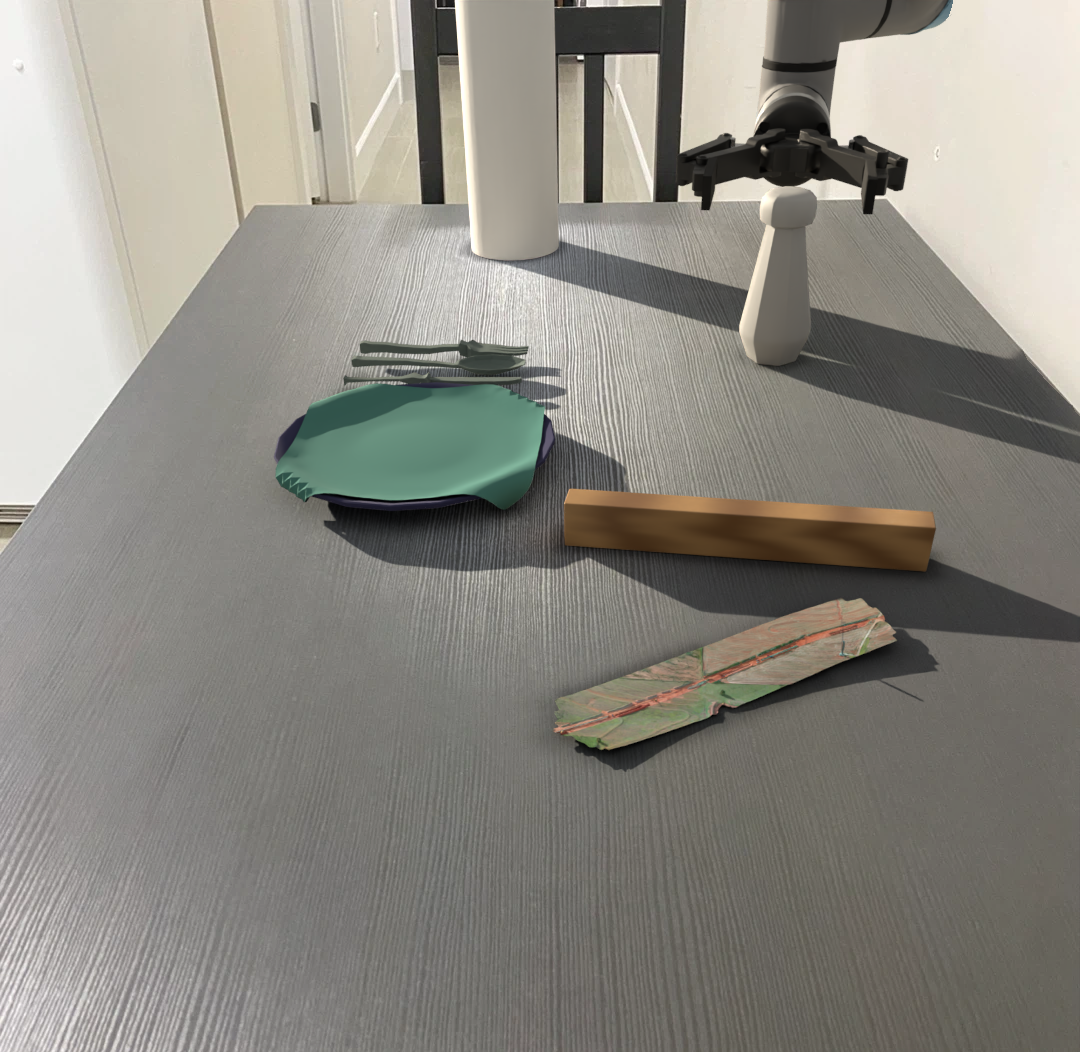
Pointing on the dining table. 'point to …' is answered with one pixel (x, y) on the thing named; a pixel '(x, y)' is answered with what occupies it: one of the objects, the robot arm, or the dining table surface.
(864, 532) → the long wooden block
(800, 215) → the salt shaker
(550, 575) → the dining table surface
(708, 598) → the dining table surface
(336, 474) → the cutlery set
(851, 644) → the map
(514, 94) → the cylinder container
